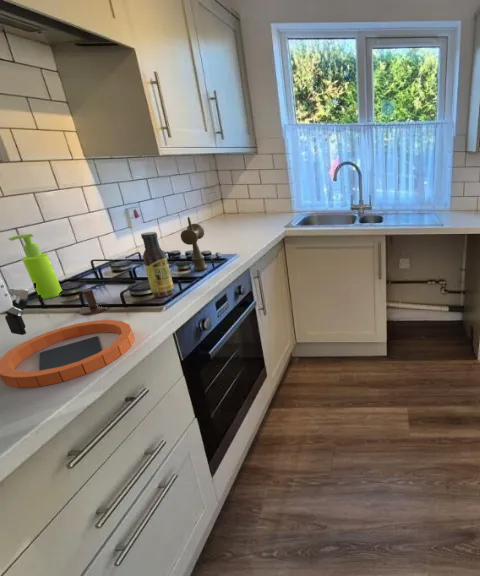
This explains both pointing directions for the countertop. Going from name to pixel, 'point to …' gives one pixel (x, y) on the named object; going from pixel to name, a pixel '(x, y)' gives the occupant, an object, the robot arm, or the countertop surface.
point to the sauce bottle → (156, 266)
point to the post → (91, 304)
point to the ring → (25, 379)
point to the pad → (69, 353)
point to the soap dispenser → (39, 268)
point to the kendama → (194, 244)
